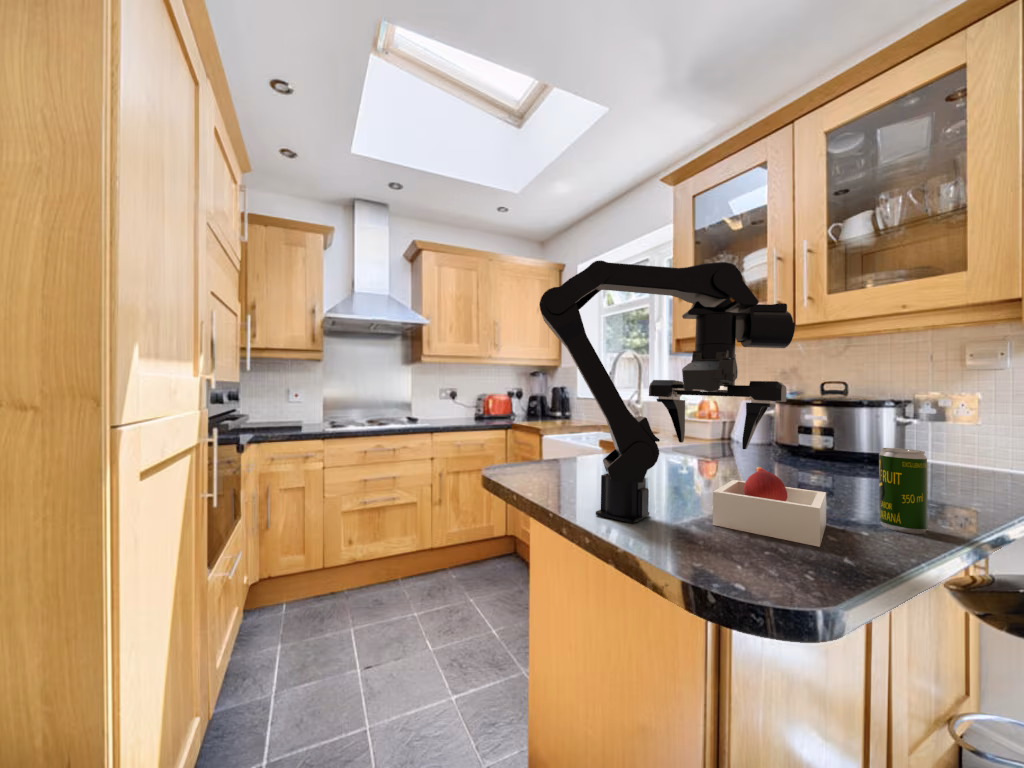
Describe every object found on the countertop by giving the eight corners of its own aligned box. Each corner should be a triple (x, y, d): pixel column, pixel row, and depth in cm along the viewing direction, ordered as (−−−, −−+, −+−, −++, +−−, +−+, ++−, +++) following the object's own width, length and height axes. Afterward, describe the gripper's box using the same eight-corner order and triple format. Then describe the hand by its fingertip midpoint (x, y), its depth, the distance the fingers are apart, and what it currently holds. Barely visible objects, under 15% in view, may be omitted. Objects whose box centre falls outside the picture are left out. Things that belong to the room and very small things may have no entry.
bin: (712, 524, 62) (713, 491, 62) (732, 508, 72) (733, 479, 72) (819, 546, 54) (819, 508, 54) (826, 524, 64) (826, 492, 64)
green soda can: (901, 523, 66) (900, 447, 66) (938, 534, 60) (937, 452, 61) (869, 523, 65) (869, 447, 66) (904, 534, 60) (903, 451, 60)
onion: (784, 523, 65) (775, 477, 69) (796, 508, 60) (786, 460, 65) (743, 518, 66) (737, 473, 71) (752, 504, 62) (745, 457, 67)
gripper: (636, 342, 65) (633, 442, 64) (776, 335, 52) (773, 458, 52) (662, 350, 73) (659, 438, 73) (788, 346, 61) (785, 451, 61)
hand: (711, 445), depth 64 cm, fingers open, 9 cm apart
